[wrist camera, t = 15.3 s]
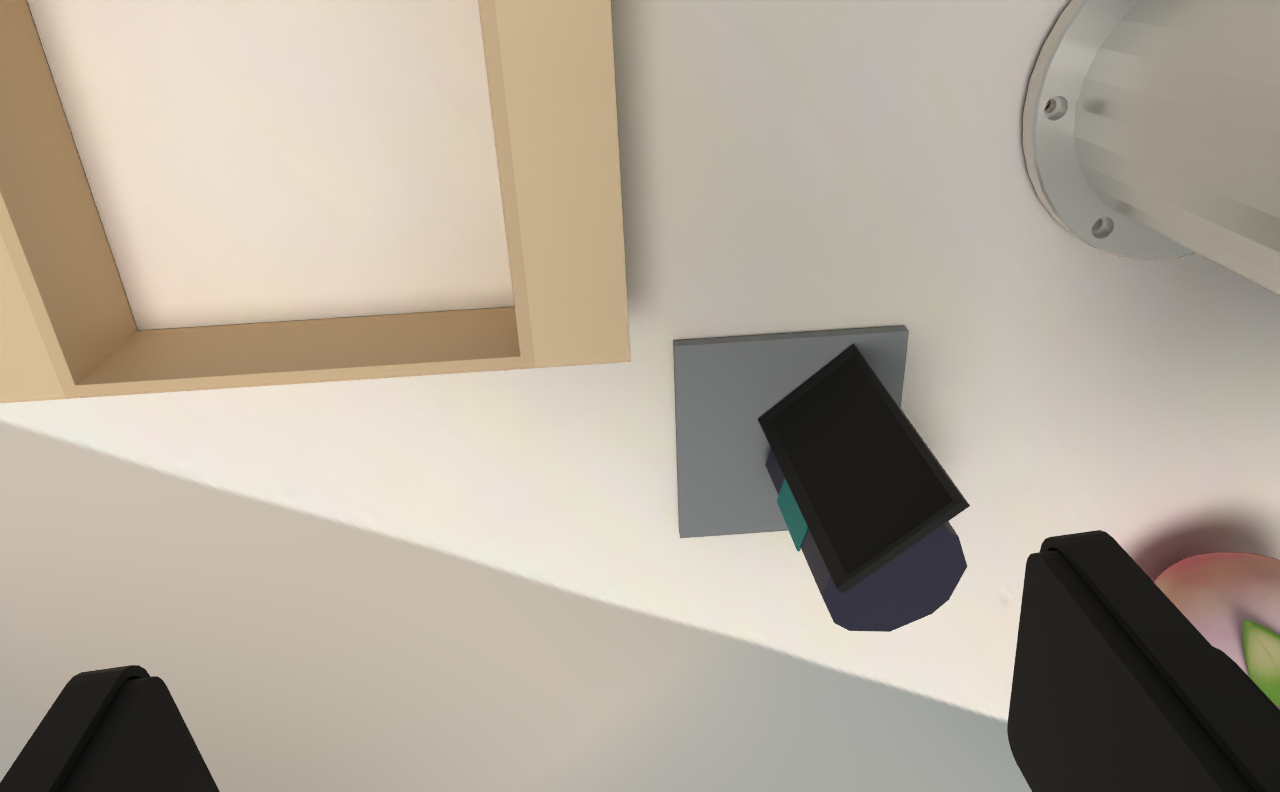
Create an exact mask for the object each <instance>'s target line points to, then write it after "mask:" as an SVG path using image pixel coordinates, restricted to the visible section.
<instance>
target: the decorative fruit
mask: <svg viewBox="0 0 1280 792" xmlns="http://www.w3.org/2000/svg"><path fill="white" fill-rule="evenodd" d="M1154 583H1155V584H1156V585H1157V586H1158V587H1159V589H1160V590H1161V591H1162V592H1163V593H1164V594H1165V595H1166V596H1167V597H1168V598H1169V599H1170V601H1171V602H1172V603H1173V604H1174V605H1175V606H1176V607H1177V608H1178V609H1179V610H1180V611H1181V612H1182V614H1183V615H1184V616H1185V617H1186V618H1187V619H1188V620H1189V621H1190V622H1191V623H1192V624H1193V626H1194V627H1195V628H1196V629H1197V630H1198V631H1199V632H1200V633H1201V634H1202V635H1203V636H1204V638H1205V639H1206V640H1207V641H1208V642H1209V643H1210V644H1211V645H1212V646H1213V647H1215V648H1217V649H1220V650H1222V651H1223V652H1224V653H1225V654H1226V655H1228V656H1229V657H1230V658H1231V659H1232V660H1233V661H1235V662H1236V663H1237V664H1238V666H1239V667H1240V668H1241V669H1242V670H1243V671H1244V672H1245V673H1246V674H1247V675H1248V676H1249V677H1250V678H1251V680H1252V681H1253V682H1254V683H1255V684H1256V685H1257V686H1258V687H1259V688H1260V689H1261V690H1262V691H1263V692H1264V693H1265V695H1266V696H1267V697H1268V698H1269V699H1270V700H1271V701H1272V702H1273V703H1274V704H1275V705H1276V706H1277V707H1278V709H1279V710H1280V560H1278V559H1275V558H1271V557H1267V556H1263V555H1257V554H1250V553H1237V552H1215V553H1206V554H1199V555H1195V556H1191V557H1188V558H1185V559H1183V560H1181V561H1179V562H1177V563H1175V564H1173V565H1172V566H1170V567H1169V568H1167V569H1166V570H1165V571H1163V572H1162V573H1161V574H1160V575H1159V576H1158V577H1157V579H1156V580H1155V581H1154Z"/></svg>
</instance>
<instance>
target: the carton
mask: <svg viewBox="0 0 1280 792" xmlns="http://www.w3.org/2000/svg"><path fill="white" fill-rule="evenodd" d="M478 3H479V11H480V20H481V28H482V37H483V45H484V53H485V62H486V70H487V79H488V87H489V95H490V104H491V112H492V120H493V129H494V137H495V146H496V154H497V162H498V171H499V179H500V188H501V196H502V204H503V213H504V221H505V229H506V238H507V246H508V255H509V263H510V271H511V280H512V288H513V297H514V305H515V307H504V308H488V309H472V310H456V311H441V312H425V313H409V314H393V315H378V316H362V317H346V318H330V319H315V320H299V321H283V322H267V323H252V324H236V325H220V326H204V327H188V328H173V329H157V330H141V331H138V330H137V327H136V324H135V321H134V318H133V315H132V312H131V310H130V307H129V304H128V301H127V298H126V295H125V292H124V289H123V286H122V283H121V280H120V277H119V274H118V271H117V268H116V265H115V262H114V259H113V256H112V253H111V250H110V247H109V244H108V241H107V238H106V235H105V232H104V229H103V227H102V224H101V221H100V218H99V215H98V212H97V209H96V206H95V203H94V200H93V197H92V194H91V191H90V188H89V185H88V182H87V179H86V176H85V173H84V170H83V167H82V164H81V161H80V158H79V155H78V152H77V149H76V146H75V144H74V141H73V138H72V135H71V132H70V129H69V126H68V123H67V120H66V117H65V114H64V111H63V108H62V105H61V102H60V99H59V96H58V93H57V90H56V87H55V84H54V81H53V78H52V75H51V72H50V69H49V66H48V64H47V61H46V58H45V55H44V52H43V49H42V46H41V43H40V40H39V37H38V34H37V31H36V28H35V25H34V22H33V19H32V16H31V13H30V10H29V7H28V4H27V1H26V0H0V403H9V402H25V401H40V400H55V399H70V398H86V397H101V396H116V395H131V394H147V393H162V392H177V391H192V390H207V389H223V388H238V387H253V386H268V385H284V384H299V383H314V382H329V381H345V380H360V379H375V378H390V377H406V376H421V375H436V374H451V373H467V372H482V371H497V370H512V369H528V368H543V367H558V366H573V365H589V364H604V363H619V362H631V360H630V342H629V324H628V306H627V288H626V270H625V251H624V233H623V215H622V197H621V179H620V161H619V143H618V125H617V107H616V89H615V71H614V53H613V35H612V17H611V0H478Z"/></svg>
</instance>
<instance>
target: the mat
mask: <svg viewBox="0 0 1280 792" xmlns="http://www.w3.org/2000/svg"><path fill="white" fill-rule="evenodd" d="M908 332H909V331H908V330H907V329H906V327H905V326H890V327H875V328H859V329H844V330H829V331H813V332H798V333H783V334H767V335H752V336H736V337H721V338H706V339H690V340H675V341H673V347H674V380H675V414H676V447H677V480H678V514H679V534H680V538H690V537H704V536H717V535H731V534H745V533H759V532H773V531H787V530H788V527H787V525H786V523H785V520H784V518H783V515H782V513H781V511H780V508H779V506H778V503H777V499H778V493H777V491H776V489H775V486H774V484H773V482H772V479H771V477H770V475H769V472H768V470H767V468H766V466H765V463H766V461H767V458H768V455H769V453H770V450H771V447H770V445H769V443H768V441H767V438H766V436H765V434H764V432H763V430H762V428H761V426H760V423H759V421H758V418H759V417H761V416H762V415H763V414H764V413H766V412H767V411H768V410H770V409H771V408H772V407H773V406H775V405H776V404H777V403H778V402H780V401H781V400H782V399H784V398H785V397H786V396H787V395H789V394H790V393H791V392H792V391H794V390H795V389H796V388H797V387H799V386H800V385H801V384H803V383H804V382H805V381H806V380H808V379H809V378H810V377H811V376H813V375H814V374H815V373H817V372H818V371H819V370H820V369H822V368H823V367H824V366H825V365H827V364H828V363H829V362H830V361H832V360H833V359H834V358H836V357H837V356H838V355H839V354H841V353H842V352H843V351H844V350H846V349H847V348H848V347H850V346H851V345H852V344H854V345H855V346H856V347H857V349H858V350H859V351H860V353H861V354H862V355H863V357H864V358H865V360H866V361H867V362H868V364H869V365H870V367H871V368H872V369H873V371H874V372H875V374H876V375H877V376H878V378H879V379H880V381H881V382H882V383H883V385H884V386H885V388H886V389H887V390H888V392H889V393H890V395H891V396H892V397H893V399H894V400H895V402H896V403H897V404H898V406H899V407H900V408H901V398H902V389H903V379H904V370H905V360H906V351H907V341H908Z"/></svg>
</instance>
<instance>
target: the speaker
mask: <svg viewBox="0 0 1280 792" xmlns="http://www.w3.org/2000/svg"><path fill="white" fill-rule="evenodd" d="M758 421H759V423H760V426H761V428H762V430H763V432H764V434H765V436H766V438H767V441H768V443H769V445H770V447H771V450H770V453H769V455H768V458H767V461H766V463H765V466H766V468H767V470H768V472H769V475H770V477H771V479H772V482H773V484H774V486H775V489H776V491H777V493H778V499H777V503H778V506H779V508H780V511H781V513H782V515H783V518H784V520H785V523H786V525H787V527H788V530H789V532H790V535H791V537H792V539H793V542H794V544H795V546H796V549H797V551H800V549H802V551H803V553H804V556H805V558H806V560H807V563H808V565H809V567H810V570H811V572H812V574H813V576H814V579H815V581H816V583H817V586H818V588H819V590H820V593H821V595H822V597H823V599H824V602H825V604H826V606H827V608H828V610H829V612H830V615H831V617H832V619H833V621H834V623H835V624H837V625H839V626H841V627H843V628H845V629H847V630H849V631H889V632H890V631H892V630H894V629H897V628H899V627H902V626H904V625H906V624H909V623H911V622H913V621H916V620H918V619H921V618H923V617H925V616H928V615H930V614H932V613H933V612H934V611H936V610H937V609H938V608H939V607H940V606H942V605H943V604H944V603H945V602H946V601H948V600H949V598H950V596H951V595H952V593H953V591H954V589H955V587H956V586H957V584H958V582H959V580H960V578H961V577H962V575H963V573H964V571H965V569H966V568H967V564H966V561H965V557H964V554H963V551H962V547H961V544H960V540H959V537H958V535H957V534H956V532H955V531H954V529H953V528H952V526H951V525H950V523H949V522H948V521H949V520H950V519H952V518H953V517H955V516H956V515H957V514H959V513H960V512H962V511H963V510H965V509H966V508H968V507H969V506H970V505H969V504H968V502H967V501H966V500H965V498H964V497H963V495H962V494H961V493H960V491H959V490H958V488H957V487H956V486H955V484H954V483H953V481H952V480H951V479H950V477H949V476H948V474H947V473H946V472H945V470H944V469H943V467H942V466H941V465H940V463H939V462H938V460H937V459H936V458H935V456H934V455H933V453H932V452H931V451H930V449H929V448H928V446H927V445H926V444H925V442H924V441H923V439H922V438H921V437H920V435H919V434H918V432H917V431H916V430H915V428H914V427H913V425H912V424H911V423H910V421H909V420H908V418H907V417H906V416H905V414H904V413H903V411H902V410H901V409H900V407H899V406H898V404H897V403H896V402H895V400H894V399H893V397H892V396H891V395H890V393H889V392H888V390H887V389H886V388H885V386H884V385H883V383H882V382H881V381H880V379H879V378H878V376H877V375H876V374H875V372H874V371H873V369H872V368H871V367H870V365H869V364H868V362H867V361H866V360H865V358H864V357H863V355H862V354H861V353H860V351H859V350H858V349H857V347H856V346H855V345H854V344H852V345H851V346H850V347H848V348H847V349H846V350H844V351H843V352H842V353H841V354H839V355H838V356H837V357H836V358H834V359H833V360H832V361H830V362H829V363H828V364H827V365H825V366H824V367H823V368H822V369H820V370H819V371H818V372H817V373H815V374H814V375H813V376H811V377H810V378H809V379H808V380H806V381H805V382H804V383H803V384H801V385H800V386H799V387H797V388H796V389H795V390H794V391H792V392H791V393H790V394H789V395H787V396H786V397H785V398H784V399H782V400H781V401H780V402H778V403H777V404H776V405H775V406H773V407H772V408H771V409H770V410H768V411H767V412H766V413H764V414H763V415H762V416H761V417H759V418H758Z"/></svg>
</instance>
